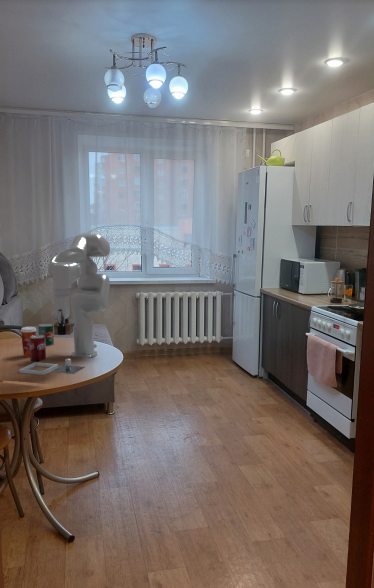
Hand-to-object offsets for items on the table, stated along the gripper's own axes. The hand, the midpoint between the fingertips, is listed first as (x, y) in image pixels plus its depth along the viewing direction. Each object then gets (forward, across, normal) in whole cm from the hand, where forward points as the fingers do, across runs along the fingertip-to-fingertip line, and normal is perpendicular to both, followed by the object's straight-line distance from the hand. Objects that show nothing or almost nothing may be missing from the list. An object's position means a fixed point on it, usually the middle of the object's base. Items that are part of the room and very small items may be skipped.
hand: (63, 332), depth 206 cm
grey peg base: (+18, 0, +2) cm, 18 cm away
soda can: (+18, -18, -17) cm, 31 cm away
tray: (+18, 0, -11) cm, 21 cm away
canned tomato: (+18, -53, -21) cm, 60 cm away
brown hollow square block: (0, 0, 0) cm, 0 cm away
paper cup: (+18, -29, -24) cm, 42 cm away
